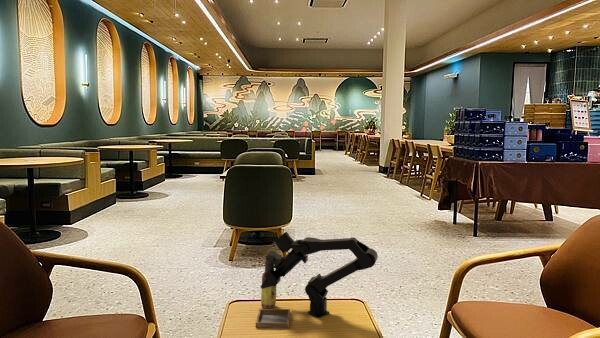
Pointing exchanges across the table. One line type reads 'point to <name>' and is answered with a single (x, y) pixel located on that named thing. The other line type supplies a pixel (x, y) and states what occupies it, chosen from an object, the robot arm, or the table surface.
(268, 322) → the walnut frame
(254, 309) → the table surface
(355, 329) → the table surface
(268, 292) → the sauce bottle
